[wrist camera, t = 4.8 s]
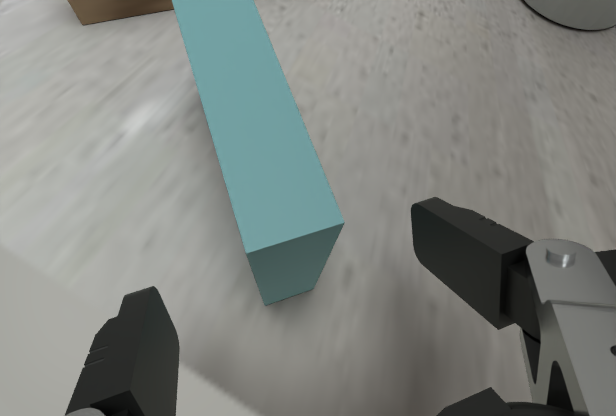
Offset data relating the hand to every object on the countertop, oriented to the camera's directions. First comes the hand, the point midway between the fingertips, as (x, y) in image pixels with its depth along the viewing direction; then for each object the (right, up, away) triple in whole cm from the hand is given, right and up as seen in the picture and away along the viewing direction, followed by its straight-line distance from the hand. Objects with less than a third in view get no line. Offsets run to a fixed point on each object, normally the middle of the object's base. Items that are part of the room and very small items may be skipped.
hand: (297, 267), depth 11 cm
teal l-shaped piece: (-3, +3, +9) cm, 10 cm away
